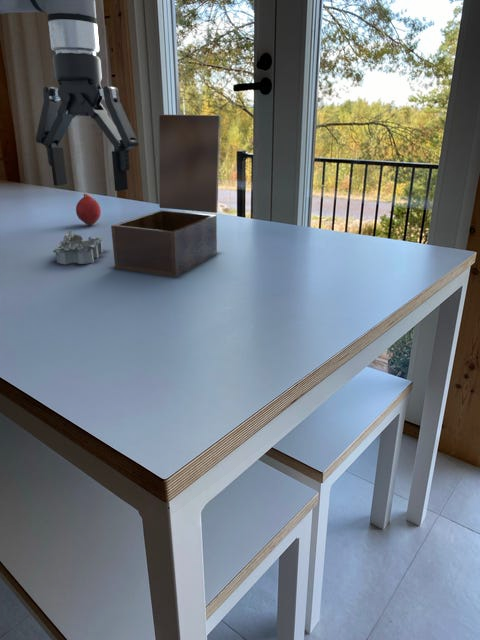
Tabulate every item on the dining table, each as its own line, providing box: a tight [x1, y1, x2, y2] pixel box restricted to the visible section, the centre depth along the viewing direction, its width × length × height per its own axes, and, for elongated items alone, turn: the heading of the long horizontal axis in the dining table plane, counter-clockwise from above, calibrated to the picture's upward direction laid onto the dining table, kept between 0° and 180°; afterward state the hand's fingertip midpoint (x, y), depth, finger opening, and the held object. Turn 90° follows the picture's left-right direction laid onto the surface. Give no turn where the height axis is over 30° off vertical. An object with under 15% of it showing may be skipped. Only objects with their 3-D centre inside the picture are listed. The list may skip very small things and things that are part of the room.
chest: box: [110, 209, 218, 278], centre depth 89 cm, size 17×13×8 cm
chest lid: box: [158, 114, 221, 214], centre depth 92 cm, size 18×13×1 cm
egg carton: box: [53, 231, 104, 265], centre depth 91 cm, size 11×8×4 cm
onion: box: [75, 192, 102, 227], centre depth 117 cm, size 6×6×8 cm
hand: (90, 187), depth 86 cm, fingers open, 13 cm apart
